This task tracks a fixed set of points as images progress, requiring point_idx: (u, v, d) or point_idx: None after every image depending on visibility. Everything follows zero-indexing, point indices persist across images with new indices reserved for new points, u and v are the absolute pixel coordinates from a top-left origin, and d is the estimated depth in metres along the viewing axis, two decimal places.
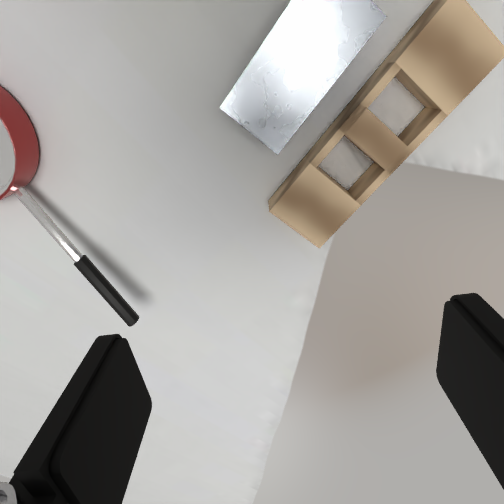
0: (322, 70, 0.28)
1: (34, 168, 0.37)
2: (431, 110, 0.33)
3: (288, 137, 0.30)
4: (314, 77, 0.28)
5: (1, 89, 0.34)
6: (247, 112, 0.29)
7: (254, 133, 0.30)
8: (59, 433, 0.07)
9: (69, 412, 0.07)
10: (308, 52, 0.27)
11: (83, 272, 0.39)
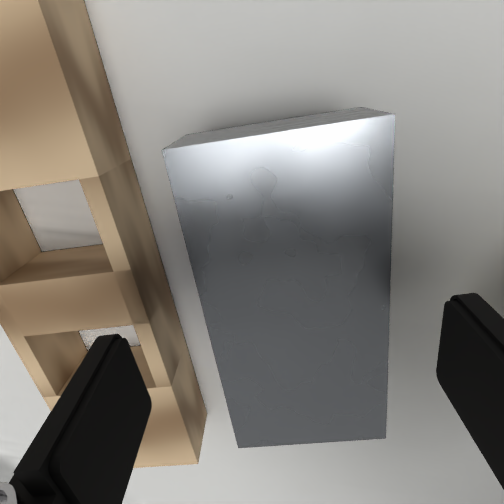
0: (250, 347, 0.13)
1: None
2: (71, 369, 0.20)
3: (182, 207, 0.10)
4: (250, 331, 0.12)
5: None
6: (318, 169, 0.10)
7: (259, 141, 0.09)
8: (59, 433, 0.07)
9: (69, 412, 0.07)
10: (296, 347, 0.13)
11: None
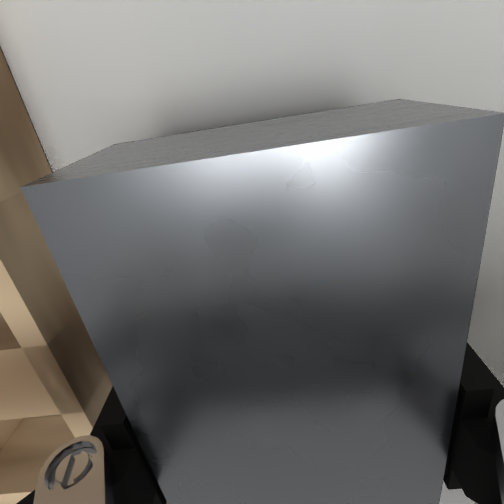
0: (221, 487, 0.08)
1: None
2: None
3: (79, 290, 0.05)
4: (220, 467, 0.08)
5: None
6: (339, 224, 0.05)
7: (219, 169, 0.05)
8: None
9: None
10: (295, 487, 0.08)
11: None
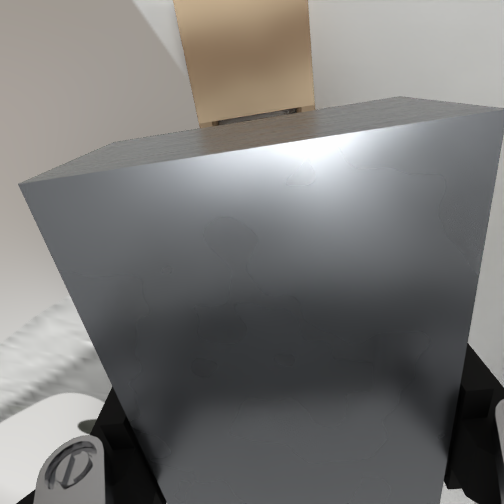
0: (221, 487, 0.08)
1: None
2: None
3: (78, 288, 0.05)
4: (220, 466, 0.07)
5: None
6: (339, 221, 0.05)
7: (219, 165, 0.05)
8: None
9: None
10: (295, 487, 0.08)
11: None
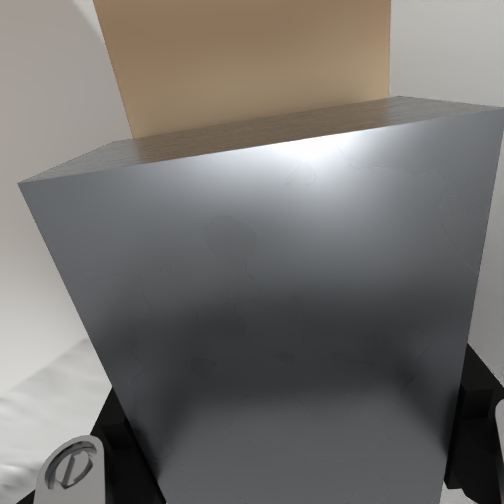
0: (221, 487, 0.08)
1: None
2: None
3: (78, 287, 0.05)
4: (220, 466, 0.07)
5: None
6: (339, 220, 0.05)
7: (218, 165, 0.05)
8: None
9: None
10: (295, 486, 0.08)
11: None
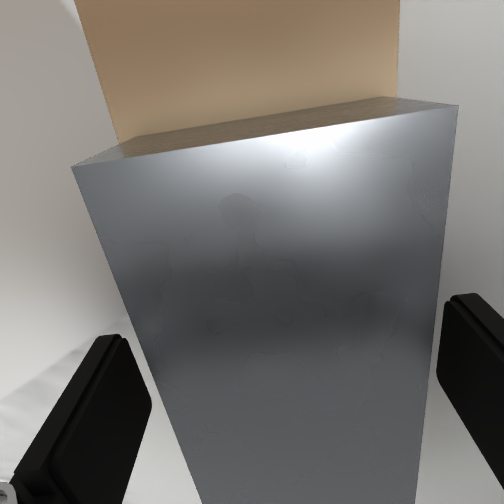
0: (230, 436, 0.09)
1: None
2: None
3: (114, 254, 0.07)
4: (228, 417, 0.09)
5: None
6: (327, 197, 0.06)
7: (231, 151, 0.06)
8: (59, 433, 0.07)
9: (69, 412, 0.07)
10: (294, 436, 0.09)
11: None
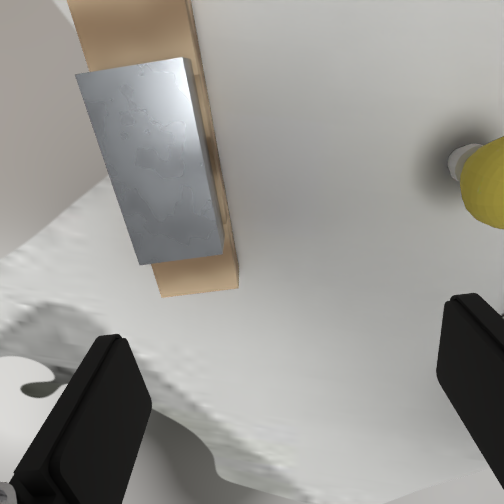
0: (135, 192, 0.23)
1: None
2: None
3: (88, 105, 0.21)
4: (134, 181, 0.23)
5: None
6: (152, 85, 0.20)
7: (121, 70, 0.20)
8: (59, 433, 0.07)
9: (69, 412, 0.07)
10: (161, 191, 0.23)
11: None
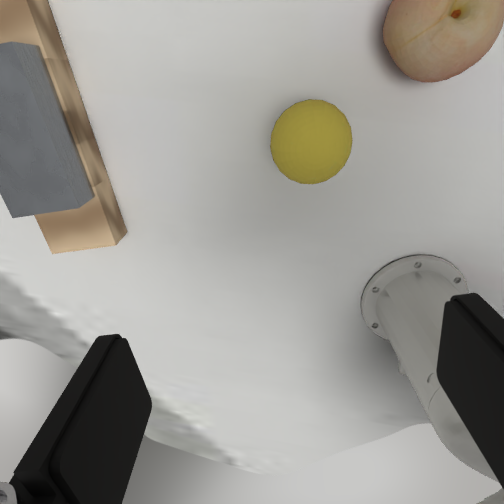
0: None
1: None
2: None
3: None
4: None
5: None
6: None
7: None
8: (59, 433, 0.07)
9: (69, 412, 0.07)
10: (17, 153, 0.29)
11: None
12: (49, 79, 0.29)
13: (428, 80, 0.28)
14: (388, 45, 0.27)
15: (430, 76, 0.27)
